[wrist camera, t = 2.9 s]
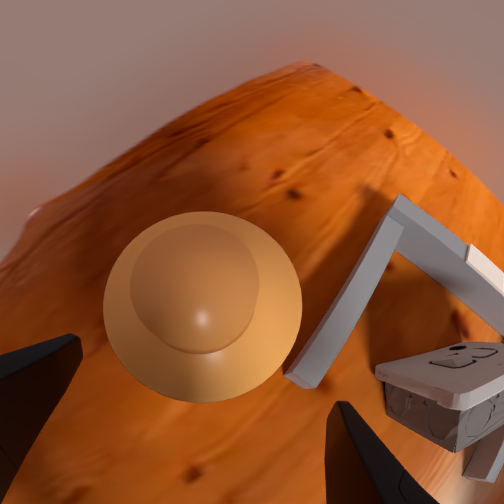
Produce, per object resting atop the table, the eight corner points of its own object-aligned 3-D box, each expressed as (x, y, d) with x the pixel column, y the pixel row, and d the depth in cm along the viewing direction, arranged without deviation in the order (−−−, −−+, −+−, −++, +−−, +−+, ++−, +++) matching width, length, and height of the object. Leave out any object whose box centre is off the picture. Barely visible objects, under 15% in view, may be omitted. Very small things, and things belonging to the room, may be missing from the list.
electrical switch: (462, 341, 19) (547, 317, 10) (466, 400, 17) (551, 396, 8) (368, 365, 18) (457, 357, 9) (372, 434, 16) (457, 465, 8)
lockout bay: (471, 479, 13) (504, 484, 9) (283, 375, 17) (297, 370, 14) (521, 337, 19) (551, 324, 15) (379, 221, 23) (401, 190, 20)
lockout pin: (264, 386, 17) (344, 369, 5) (195, 400, 16) (96, 416, 4) (248, 322, 19) (276, 172, 7) (182, 335, 18) (86, 207, 6)
